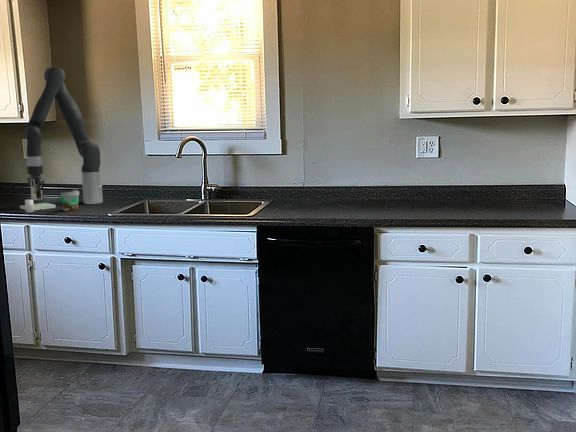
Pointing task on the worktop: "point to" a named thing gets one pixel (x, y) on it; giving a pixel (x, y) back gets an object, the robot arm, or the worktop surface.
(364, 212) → the worktop surface
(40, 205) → the cutting board
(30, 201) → the ceramic jar
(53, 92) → the robot arm
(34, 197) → the ash block
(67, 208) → the food container
